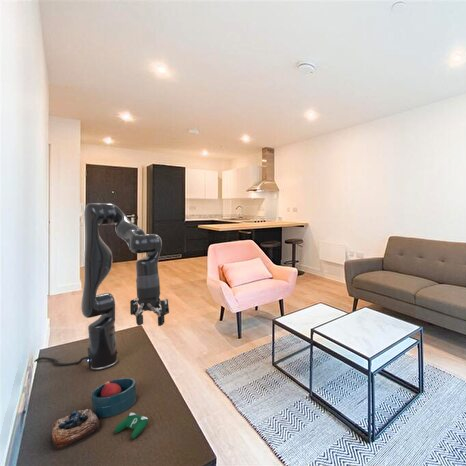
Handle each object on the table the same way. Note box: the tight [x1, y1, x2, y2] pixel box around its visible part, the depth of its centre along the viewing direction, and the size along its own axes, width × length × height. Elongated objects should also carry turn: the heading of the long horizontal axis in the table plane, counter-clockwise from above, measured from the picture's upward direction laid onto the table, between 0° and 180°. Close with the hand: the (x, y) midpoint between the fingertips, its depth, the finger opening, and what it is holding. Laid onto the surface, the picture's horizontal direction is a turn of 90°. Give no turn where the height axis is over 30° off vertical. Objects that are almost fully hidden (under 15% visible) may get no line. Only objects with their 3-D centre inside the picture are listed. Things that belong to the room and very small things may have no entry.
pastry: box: [50, 408, 100, 450], centre depth 93 cm, size 11×12×6 cm
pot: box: [91, 377, 137, 419], centre depth 106 cm, size 12×12×7 cm
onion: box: [101, 380, 121, 397], centre depth 107 cm, size 6×6×8 cm
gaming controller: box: [114, 412, 149, 440], centre depth 95 cm, size 9×4×6 cm
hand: (150, 325), depth 115 cm, fingers open, 8 cm apart
